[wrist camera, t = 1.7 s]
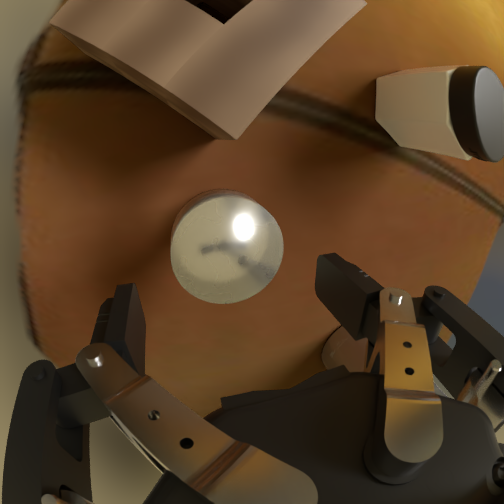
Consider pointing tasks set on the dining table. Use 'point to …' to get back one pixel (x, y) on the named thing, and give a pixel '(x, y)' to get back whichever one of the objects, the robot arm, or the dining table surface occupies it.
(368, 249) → the dining table surface
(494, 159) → the jar
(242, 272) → the pin
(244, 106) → the pin block
